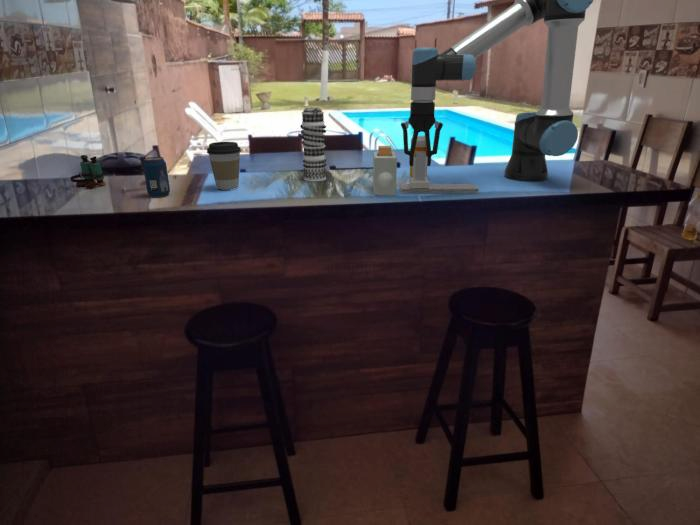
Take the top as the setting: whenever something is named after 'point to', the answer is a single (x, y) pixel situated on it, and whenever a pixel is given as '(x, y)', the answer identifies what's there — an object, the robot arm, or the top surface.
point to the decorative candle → (313, 144)
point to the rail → (440, 188)
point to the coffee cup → (225, 164)
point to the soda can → (156, 177)
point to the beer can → (419, 148)
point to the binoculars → (89, 173)
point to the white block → (384, 174)
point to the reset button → (384, 150)
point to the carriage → (419, 172)
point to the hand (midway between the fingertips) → (419, 175)
